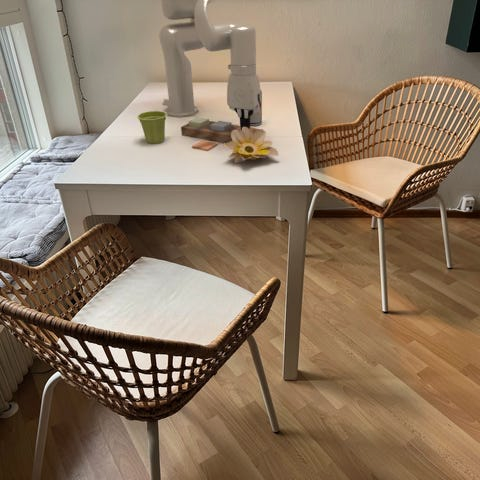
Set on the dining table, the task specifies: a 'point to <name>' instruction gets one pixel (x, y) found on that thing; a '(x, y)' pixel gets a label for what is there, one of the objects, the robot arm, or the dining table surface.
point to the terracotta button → (249, 128)
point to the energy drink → (256, 116)
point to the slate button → (221, 126)
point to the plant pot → (153, 125)
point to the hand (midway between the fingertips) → (245, 129)
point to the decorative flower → (249, 145)
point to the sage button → (199, 122)
